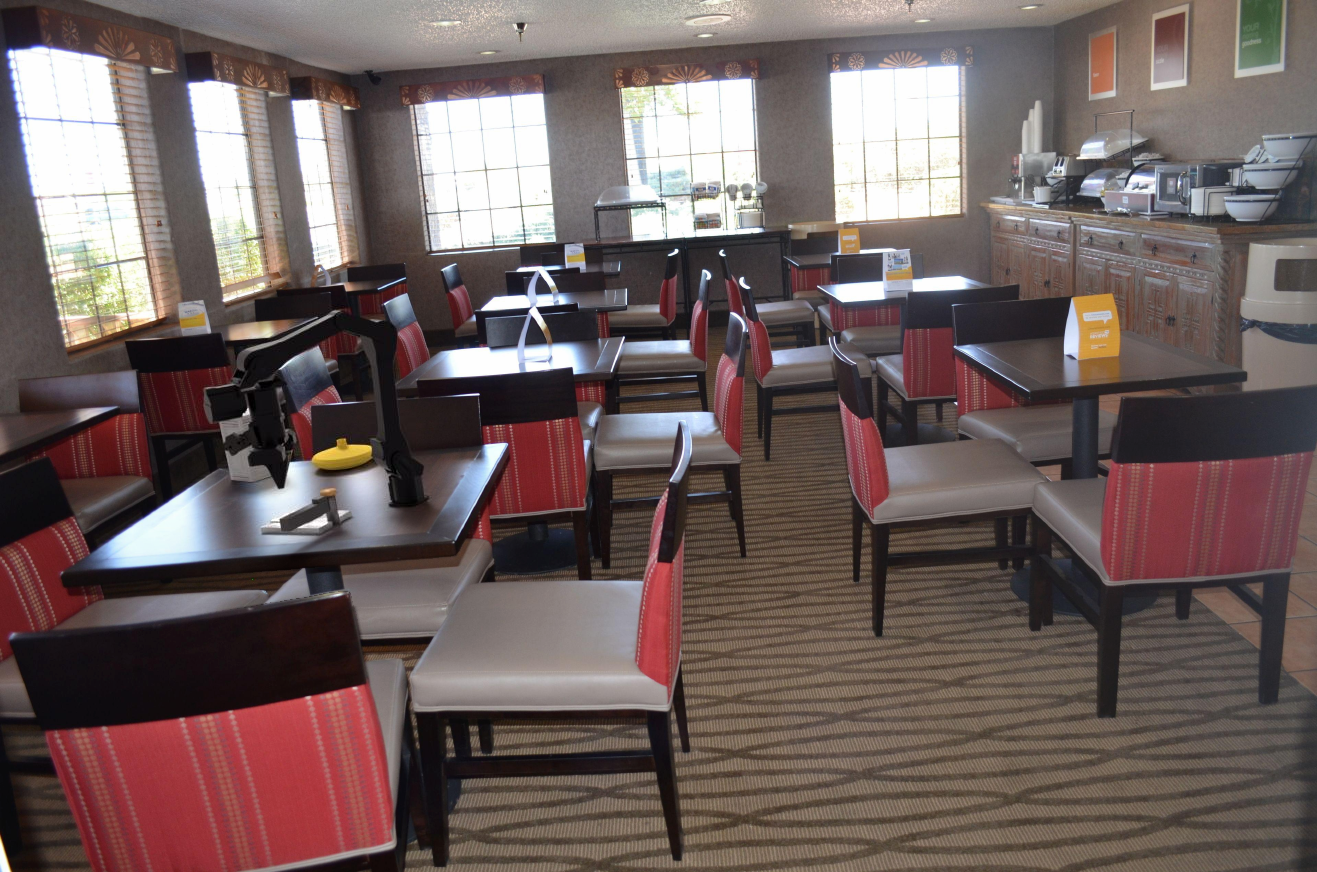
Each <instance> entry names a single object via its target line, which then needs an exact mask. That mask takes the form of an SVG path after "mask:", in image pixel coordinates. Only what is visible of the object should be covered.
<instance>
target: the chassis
mask: <svg viewBox="0 0 1317 872" xmlns="http://www.w3.org/2000/svg"><path fill="white" fill-rule="evenodd" d="M327 500H328V504H329V510H330V512H328V513H326V514H324V515H322V516H320V517H318V518H316V519H314V520H312V521H310V522H308V523H306V524H304V525H302V526H300V527H298V528H296V529H294V530H292V531H290V532H284V531H281V526H280V521H279V519H280V518H282V517H284V516H286V515H289V514H291V513H293V512H295V511H297V510H298V509H294V510H291V512H288V513H287V512H286V513H283V514H281V515H279V516H277V517H275V518H273V519H272V520H269V522H268V523H266V524H264V525H262V526H260V531H261V534H292V535H293V534H296V535H297V534H302V535H303V534H304V535H305V534H307V535H310V534H311V535H321V534H322V533H324V532H326V531H328V530H330V529H331V528H333V527H337V526H339V525H341V522H343V521H345V520H347V519H349V518H351V517H352V516H353V515H352V510H342V509H340V510H339V509H338V503H337V498H336V494H335V495H333V496H329V497H327Z"/></svg>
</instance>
